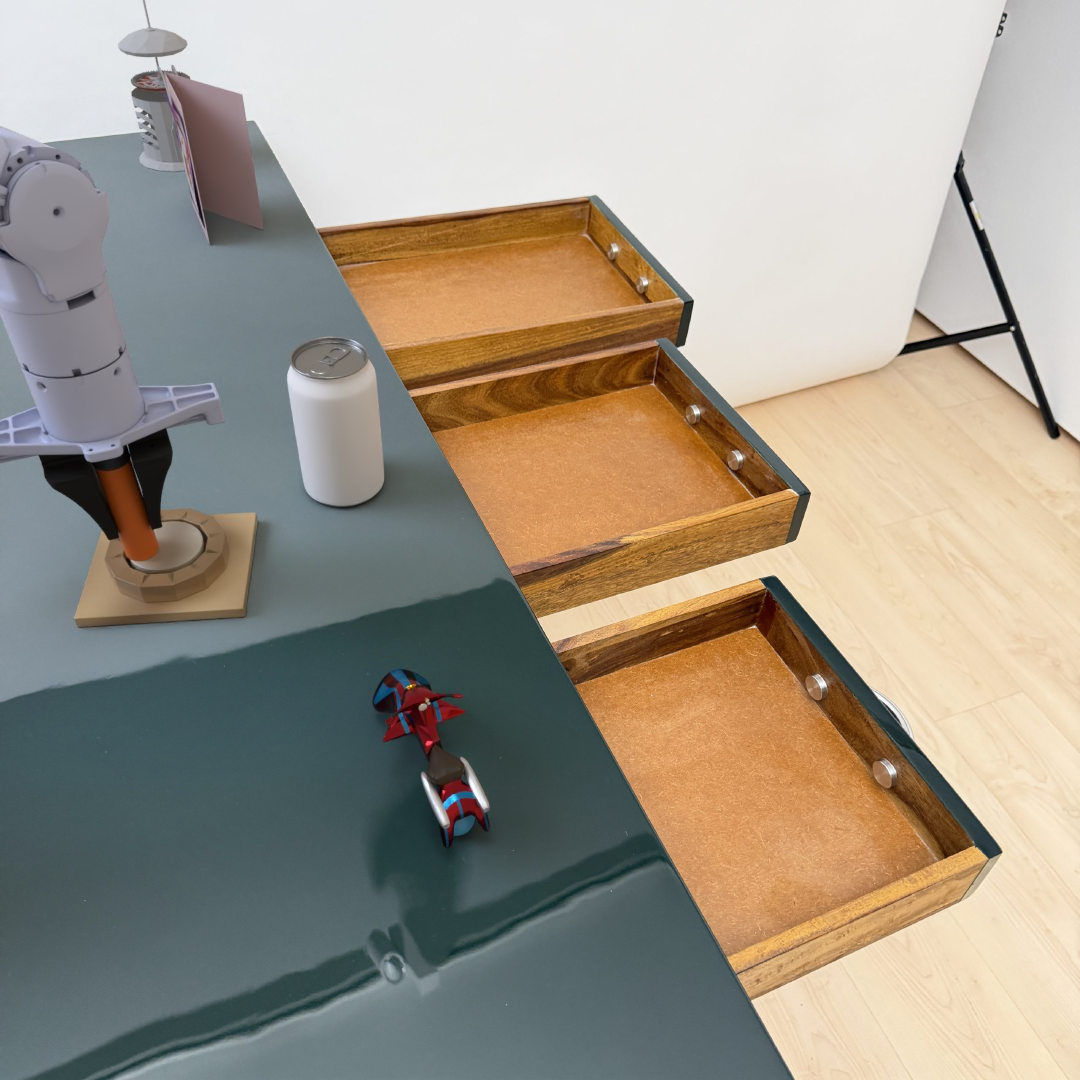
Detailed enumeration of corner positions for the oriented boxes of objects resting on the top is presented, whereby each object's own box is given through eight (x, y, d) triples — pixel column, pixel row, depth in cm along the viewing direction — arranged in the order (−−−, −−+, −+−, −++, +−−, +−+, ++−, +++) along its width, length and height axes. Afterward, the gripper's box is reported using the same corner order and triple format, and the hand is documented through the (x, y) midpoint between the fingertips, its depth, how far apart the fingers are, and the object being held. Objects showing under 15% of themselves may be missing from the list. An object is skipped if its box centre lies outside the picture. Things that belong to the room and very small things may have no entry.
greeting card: (185, 206, 109) (156, 72, 99) (247, 198, 112) (225, 67, 101) (201, 246, 102) (172, 106, 91) (267, 237, 104) (246, 100, 94)
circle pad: (127, 587, 62) (121, 571, 61) (140, 538, 66) (134, 522, 65) (202, 583, 63) (197, 567, 62) (211, 534, 66) (207, 519, 65)
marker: (127, 565, 61) (89, 462, 55) (122, 544, 63) (85, 441, 57) (162, 556, 62) (129, 454, 56) (157, 535, 64) (124, 433, 58)
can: (288, 495, 72) (265, 367, 63) (331, 451, 76) (315, 325, 68) (359, 519, 70) (344, 390, 62) (399, 472, 74) (390, 346, 66)
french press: (202, 139, 125) (160, -76, 108) (230, 169, 118) (190, -56, 101) (129, 150, 121) (74, -72, 103) (154, 181, 114) (98, -51, 97)
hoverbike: (432, 680, 59) (430, 624, 55) (509, 833, 51) (513, 780, 48) (357, 706, 57) (349, 650, 53) (425, 869, 50) (422, 817, 46)
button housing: (77, 627, 61) (65, 602, 59) (108, 527, 68) (99, 502, 66) (245, 617, 62) (239, 592, 60) (258, 520, 69) (252, 496, 68)
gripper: (-71, 416, 47) (19, 594, 56) (216, 362, 52) (254, 534, 61) (-70, 348, 51) (12, 523, 60) (193, 305, 56) (232, 473, 65)
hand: (133, 524), depth 61 cm, fingers closed on marker, 2 cm apart
